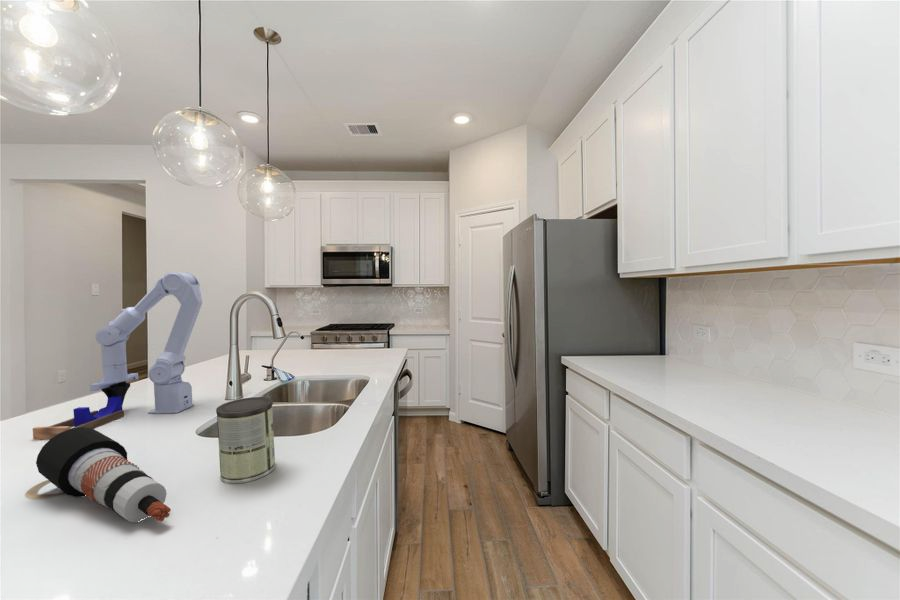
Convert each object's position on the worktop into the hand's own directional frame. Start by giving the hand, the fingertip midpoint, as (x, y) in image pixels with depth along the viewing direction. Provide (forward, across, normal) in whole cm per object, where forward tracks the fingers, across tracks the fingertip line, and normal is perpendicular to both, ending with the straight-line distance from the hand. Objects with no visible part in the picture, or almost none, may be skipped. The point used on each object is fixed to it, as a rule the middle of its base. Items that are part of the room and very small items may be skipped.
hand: (117, 407), depth 120 cm
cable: (+2, +49, +45) cm, 67 cm away
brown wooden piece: (+2, +11, 0) cm, 11 cm away
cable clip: (+2, +8, +1) cm, 8 cm away
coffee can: (+2, +38, +63) cm, 74 cm away
